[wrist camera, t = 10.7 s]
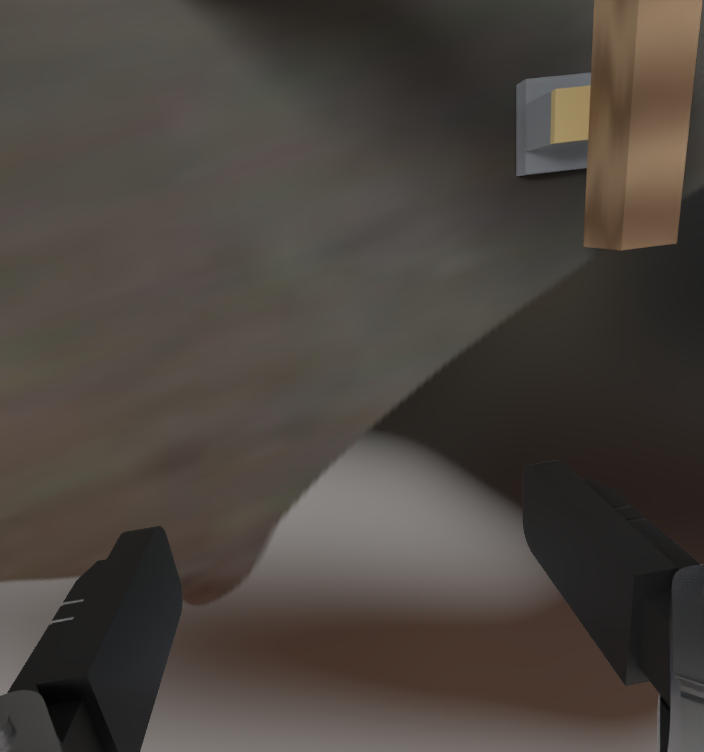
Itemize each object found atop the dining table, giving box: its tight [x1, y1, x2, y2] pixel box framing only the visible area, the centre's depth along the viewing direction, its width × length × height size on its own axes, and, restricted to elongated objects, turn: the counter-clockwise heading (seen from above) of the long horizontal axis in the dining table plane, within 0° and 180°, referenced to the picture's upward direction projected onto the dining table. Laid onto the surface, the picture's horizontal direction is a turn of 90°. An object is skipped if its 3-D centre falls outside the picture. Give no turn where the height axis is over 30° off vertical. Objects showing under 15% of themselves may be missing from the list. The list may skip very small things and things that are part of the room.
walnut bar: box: [583, 0, 702, 250], centre depth 28 cm, size 16×4×4 cm, turn 6°
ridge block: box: [516, 73, 591, 176], centre depth 32 cm, size 6×8×6 cm
